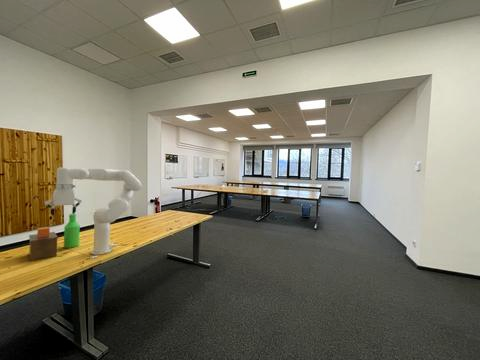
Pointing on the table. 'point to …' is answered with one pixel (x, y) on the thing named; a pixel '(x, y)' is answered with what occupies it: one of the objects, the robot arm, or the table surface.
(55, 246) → the shelf
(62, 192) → the robot arm
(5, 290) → the table surface
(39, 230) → the cube
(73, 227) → the bottle
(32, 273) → the table surface
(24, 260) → the table surface
